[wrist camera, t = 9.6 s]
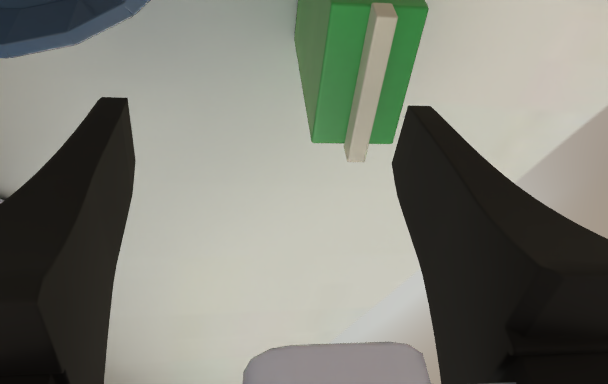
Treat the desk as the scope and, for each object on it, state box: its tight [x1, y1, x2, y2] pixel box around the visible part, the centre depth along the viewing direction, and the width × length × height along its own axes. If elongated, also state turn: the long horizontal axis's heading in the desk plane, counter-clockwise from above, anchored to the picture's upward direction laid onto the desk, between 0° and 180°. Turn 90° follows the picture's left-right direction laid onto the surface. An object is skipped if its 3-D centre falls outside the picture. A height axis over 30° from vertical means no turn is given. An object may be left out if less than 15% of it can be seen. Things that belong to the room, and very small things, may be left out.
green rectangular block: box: [294, 0, 428, 162], centre depth 20 cm, size 3×5×7 cm, turn 174°
